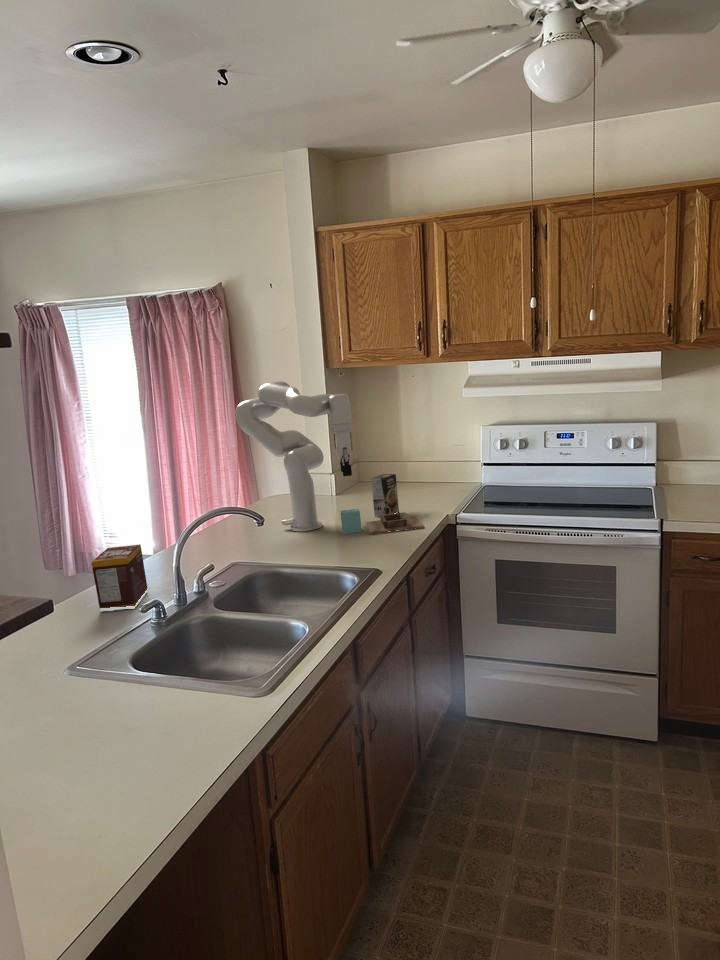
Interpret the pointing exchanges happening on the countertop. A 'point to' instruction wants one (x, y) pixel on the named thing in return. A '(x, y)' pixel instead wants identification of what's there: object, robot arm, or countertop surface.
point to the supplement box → (119, 576)
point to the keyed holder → (393, 523)
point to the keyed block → (351, 521)
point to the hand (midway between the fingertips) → (346, 473)
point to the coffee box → (385, 494)
